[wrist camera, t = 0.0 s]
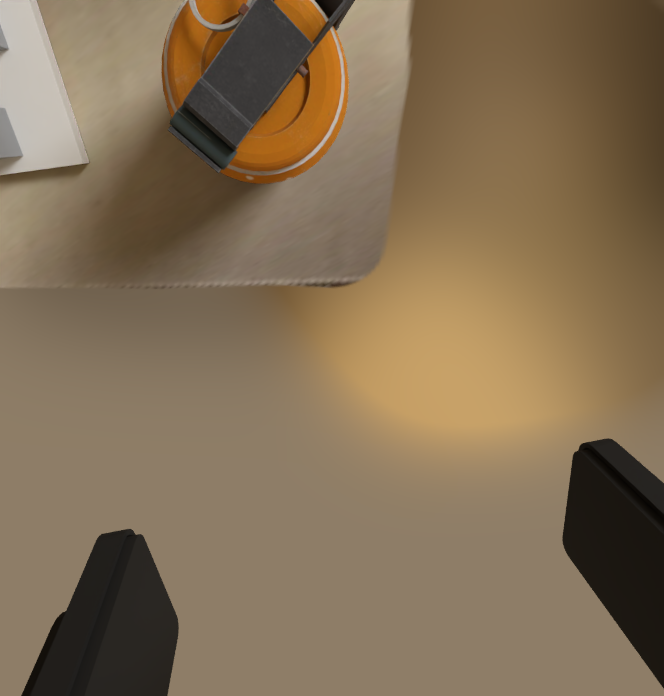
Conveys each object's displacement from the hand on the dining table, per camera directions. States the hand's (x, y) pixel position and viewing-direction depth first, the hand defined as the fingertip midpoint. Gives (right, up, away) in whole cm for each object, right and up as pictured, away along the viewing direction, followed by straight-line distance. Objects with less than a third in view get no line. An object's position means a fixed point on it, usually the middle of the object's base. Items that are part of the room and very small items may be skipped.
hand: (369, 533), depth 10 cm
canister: (-5, +23, +24) cm, 33 cm away
